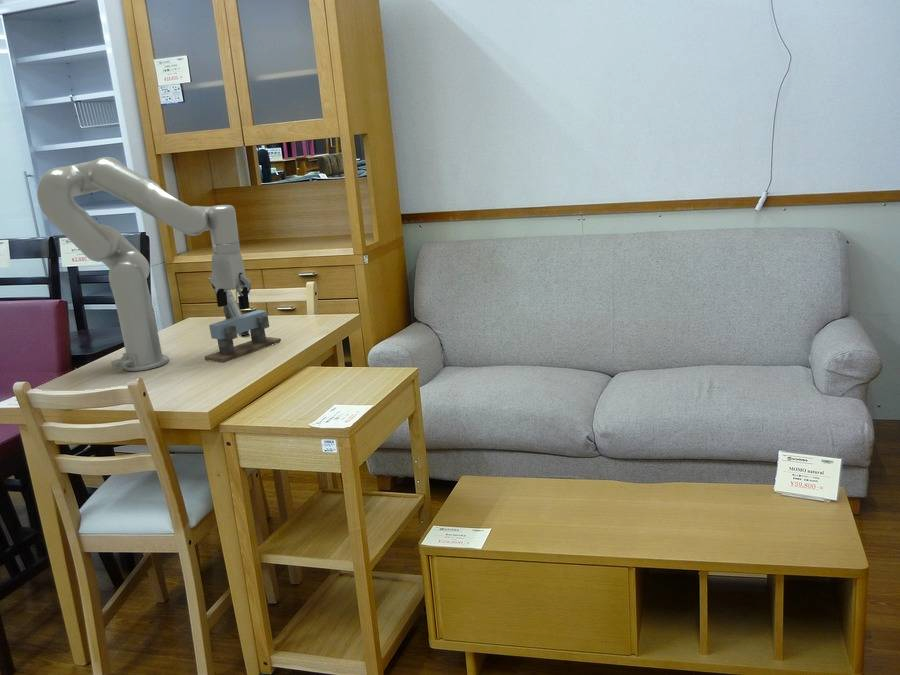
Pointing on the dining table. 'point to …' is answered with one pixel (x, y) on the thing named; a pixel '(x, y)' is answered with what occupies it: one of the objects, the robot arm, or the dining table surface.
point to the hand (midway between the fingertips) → (233, 307)
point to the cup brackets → (231, 351)
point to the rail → (236, 324)
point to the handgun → (232, 308)
